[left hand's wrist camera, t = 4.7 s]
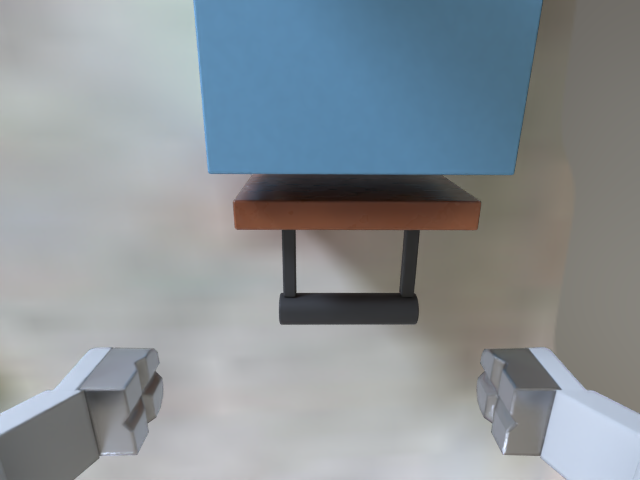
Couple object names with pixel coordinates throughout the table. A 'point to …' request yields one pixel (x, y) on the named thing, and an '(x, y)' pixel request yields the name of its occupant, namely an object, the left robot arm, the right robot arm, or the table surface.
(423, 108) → the light blue box
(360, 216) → the drawer
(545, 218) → the table surface
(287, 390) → the table surface
